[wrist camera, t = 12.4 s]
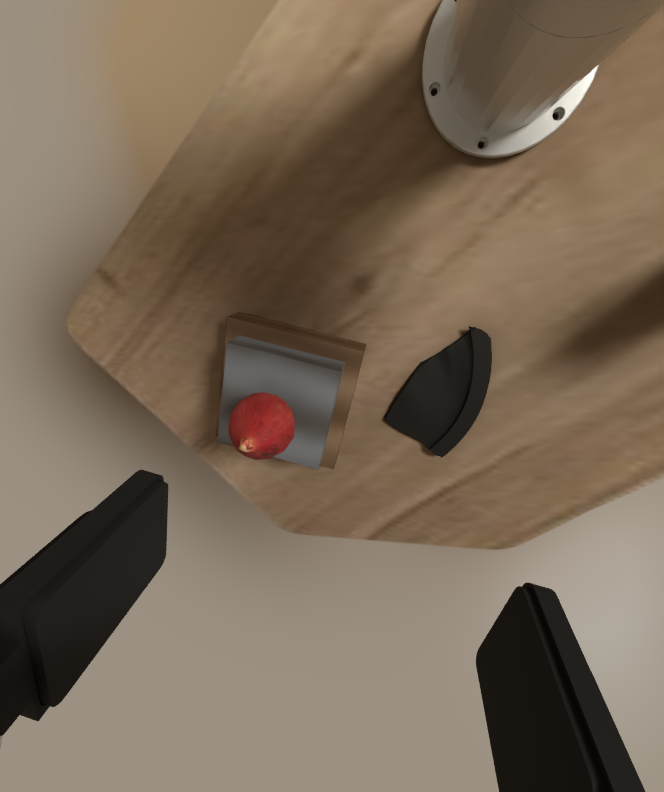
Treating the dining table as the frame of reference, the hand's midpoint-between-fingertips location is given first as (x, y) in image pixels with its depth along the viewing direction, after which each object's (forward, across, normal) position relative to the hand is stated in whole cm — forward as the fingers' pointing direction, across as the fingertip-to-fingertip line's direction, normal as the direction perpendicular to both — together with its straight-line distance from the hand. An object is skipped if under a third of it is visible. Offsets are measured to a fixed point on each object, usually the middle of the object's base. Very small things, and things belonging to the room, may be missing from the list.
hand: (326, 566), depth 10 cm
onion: (+24, +8, +9) cm, 27 cm away
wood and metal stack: (+30, +8, +9) cm, 33 cm away
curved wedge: (+31, -9, +6) cm, 33 cm away
